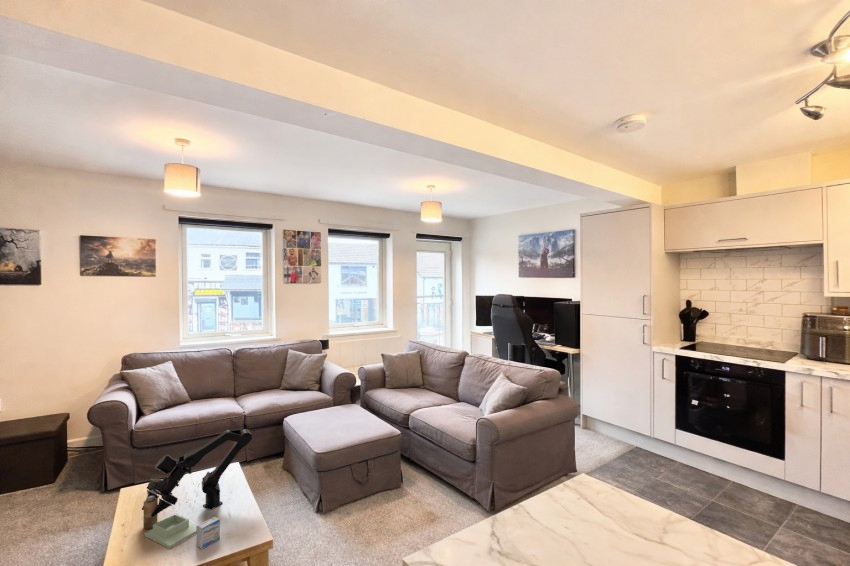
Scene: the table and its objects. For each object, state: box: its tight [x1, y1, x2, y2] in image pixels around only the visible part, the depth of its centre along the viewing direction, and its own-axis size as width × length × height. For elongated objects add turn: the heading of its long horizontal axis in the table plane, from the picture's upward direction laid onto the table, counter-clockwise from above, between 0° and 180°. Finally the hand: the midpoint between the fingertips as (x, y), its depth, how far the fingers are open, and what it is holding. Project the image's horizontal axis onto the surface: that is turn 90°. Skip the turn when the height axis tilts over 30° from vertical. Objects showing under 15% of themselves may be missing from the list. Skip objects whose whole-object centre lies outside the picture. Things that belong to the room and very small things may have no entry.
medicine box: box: [195, 516, 221, 549], centre depth 168 cm, size 8×4×9 cm, turn 148°
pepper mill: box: [142, 496, 159, 531], centre depth 178 cm, size 5×5×13 cm
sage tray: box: [144, 513, 198, 549], centre depth 174 cm, size 18×14×4 cm
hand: (147, 513), depth 177 cm, fingers open, 9 cm apart
